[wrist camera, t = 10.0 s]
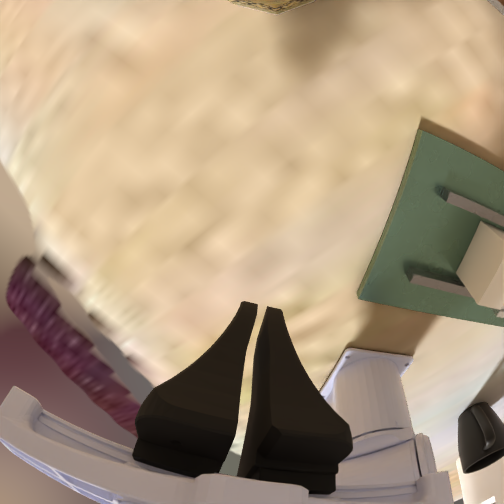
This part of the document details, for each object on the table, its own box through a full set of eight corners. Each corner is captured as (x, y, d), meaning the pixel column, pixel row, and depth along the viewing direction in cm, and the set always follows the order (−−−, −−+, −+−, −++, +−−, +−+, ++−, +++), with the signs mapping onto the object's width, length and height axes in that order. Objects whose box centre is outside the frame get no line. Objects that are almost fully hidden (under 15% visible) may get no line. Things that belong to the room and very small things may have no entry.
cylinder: (515, 418, 35) (545, 531, 11) (525, 431, 39) (549, 522, 15) (445, 460, 43) (460, 569, 18) (467, 467, 47) (481, 556, 22)
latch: (494, 284, 22) (516, 314, 18) (455, 272, 22) (478, 306, 18) (517, 237, 19) (546, 264, 15) (480, 220, 19) (510, 247, 15)
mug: (499, 376, 29) (521, 429, 21) (492, 411, 33) (507, 456, 25) (449, 401, 32) (466, 458, 23) (450, 431, 36) (461, 478, 28)
